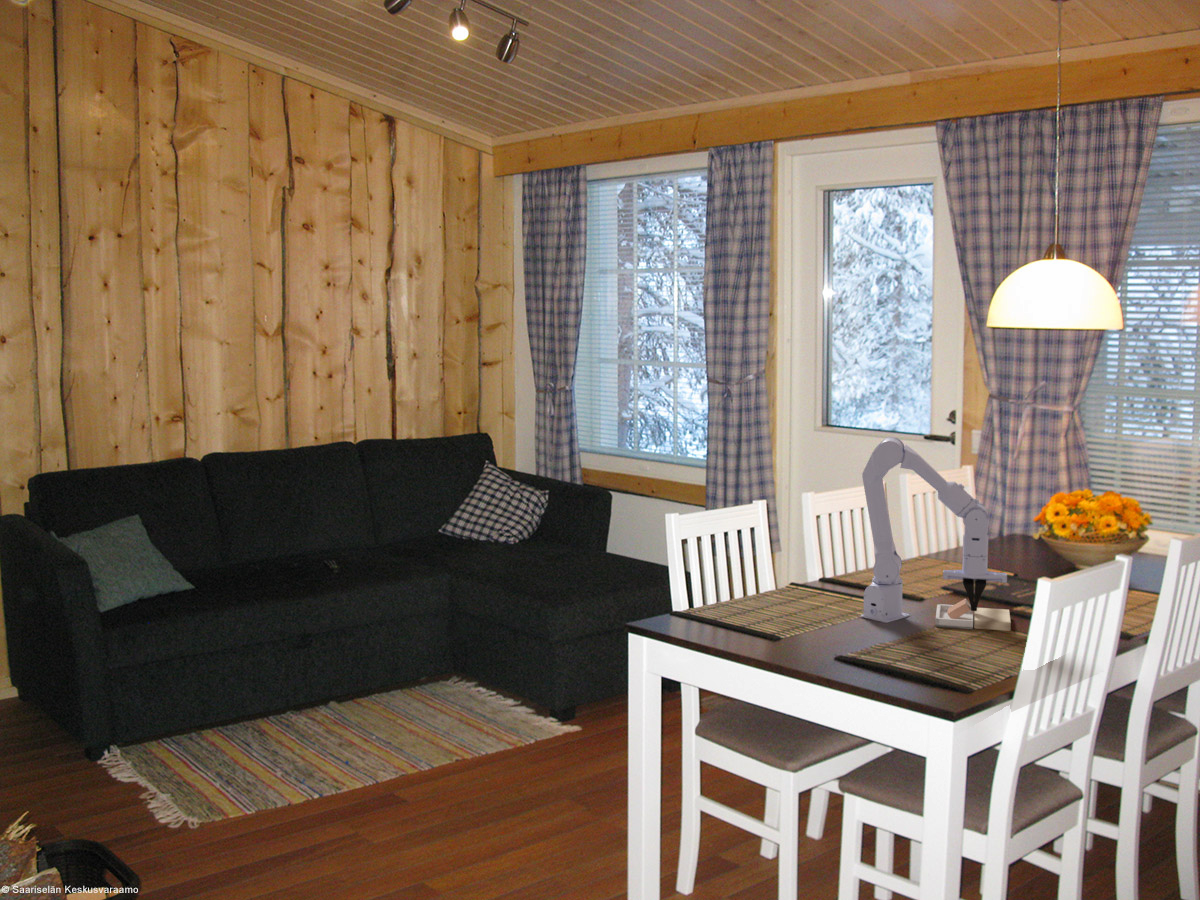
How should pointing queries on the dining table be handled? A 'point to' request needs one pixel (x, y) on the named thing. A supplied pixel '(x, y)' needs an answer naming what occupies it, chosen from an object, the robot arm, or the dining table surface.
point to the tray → (946, 621)
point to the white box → (992, 619)
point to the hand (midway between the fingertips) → (973, 609)
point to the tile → (959, 609)
